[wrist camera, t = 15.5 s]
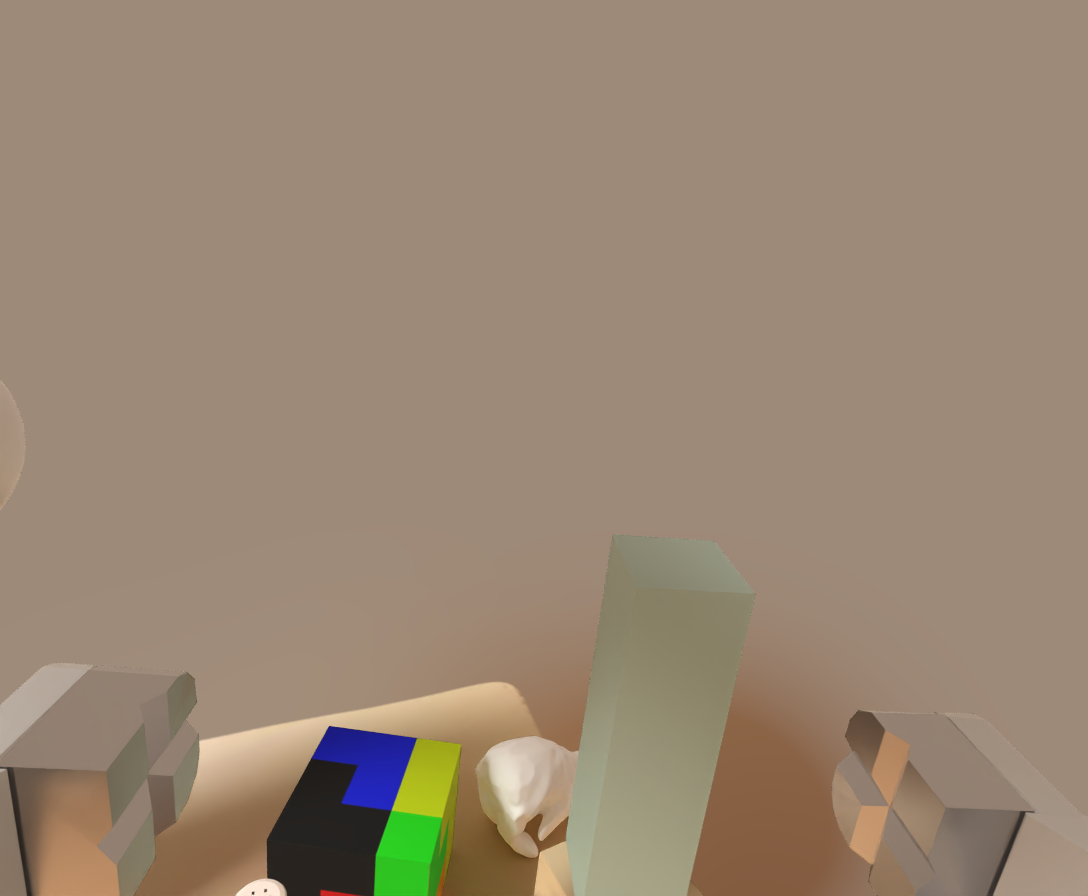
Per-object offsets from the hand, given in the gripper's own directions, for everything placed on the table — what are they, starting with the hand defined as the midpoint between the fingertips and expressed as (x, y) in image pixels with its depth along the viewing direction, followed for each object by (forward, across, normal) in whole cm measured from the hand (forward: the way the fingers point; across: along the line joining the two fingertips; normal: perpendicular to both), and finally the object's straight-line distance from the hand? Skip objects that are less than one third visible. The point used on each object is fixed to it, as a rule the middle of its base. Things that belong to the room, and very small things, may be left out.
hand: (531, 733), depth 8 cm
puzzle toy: (+30, +7, +40) cm, 50 cm away
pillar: (+22, -9, +28) cm, 37 cm away
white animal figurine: (+37, -6, +40) cm, 55 cm away
